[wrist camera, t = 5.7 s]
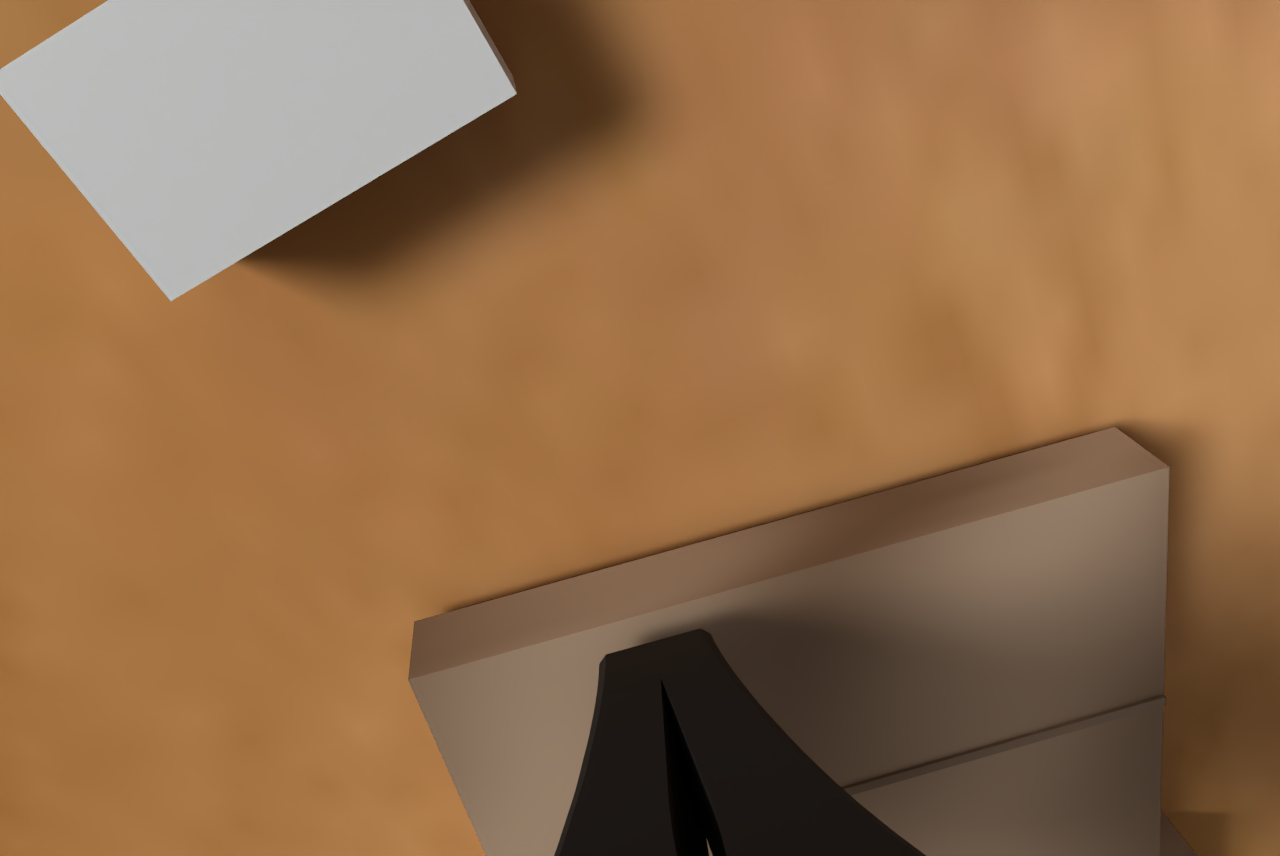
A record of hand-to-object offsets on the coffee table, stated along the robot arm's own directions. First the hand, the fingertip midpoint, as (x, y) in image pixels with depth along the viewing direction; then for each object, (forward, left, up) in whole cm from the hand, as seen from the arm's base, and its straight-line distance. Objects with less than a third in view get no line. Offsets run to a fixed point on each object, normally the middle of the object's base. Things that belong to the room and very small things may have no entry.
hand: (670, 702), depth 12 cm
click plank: (-2, +3, -2) cm, 4 cm away
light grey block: (+2, -8, -2) cm, 9 cm away
